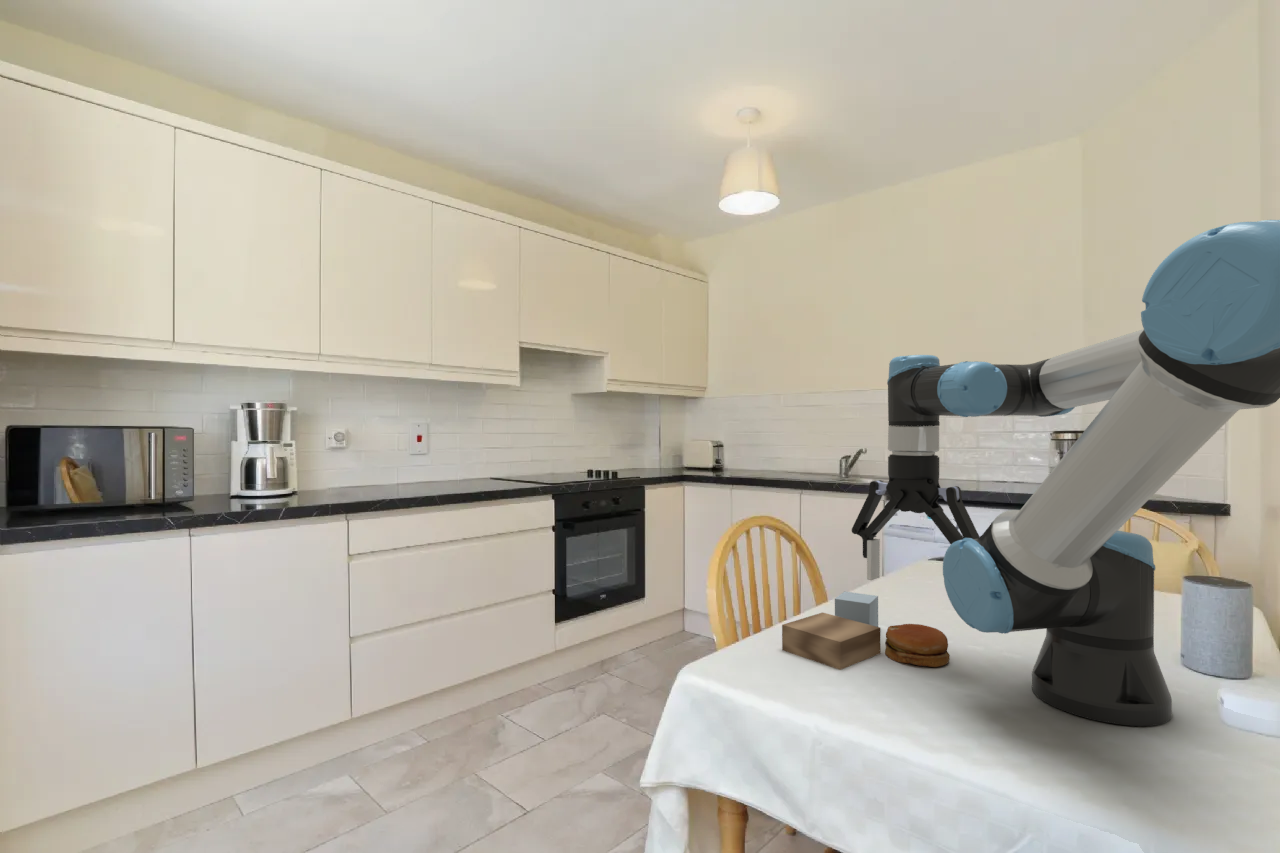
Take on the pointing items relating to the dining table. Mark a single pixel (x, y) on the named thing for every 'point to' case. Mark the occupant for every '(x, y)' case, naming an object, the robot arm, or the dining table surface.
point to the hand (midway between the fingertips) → (912, 586)
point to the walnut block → (831, 640)
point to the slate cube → (857, 607)
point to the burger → (917, 645)
